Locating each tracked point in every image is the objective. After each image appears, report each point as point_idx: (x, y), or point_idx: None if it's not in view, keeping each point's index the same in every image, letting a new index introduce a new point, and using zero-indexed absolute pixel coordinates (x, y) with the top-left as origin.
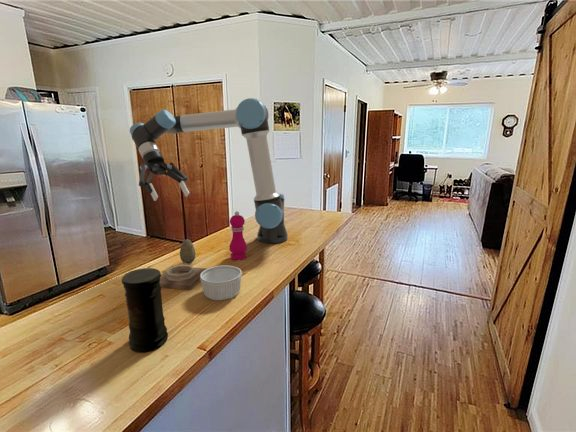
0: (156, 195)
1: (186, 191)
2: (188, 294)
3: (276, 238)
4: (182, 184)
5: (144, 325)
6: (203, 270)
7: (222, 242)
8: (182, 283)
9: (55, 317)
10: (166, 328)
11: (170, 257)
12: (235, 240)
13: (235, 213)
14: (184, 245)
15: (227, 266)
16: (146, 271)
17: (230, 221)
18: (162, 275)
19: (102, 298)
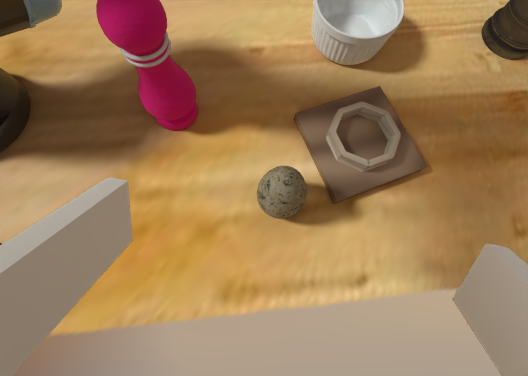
0: (512, 258)
1: (110, 206)
2: (389, 83)
3: (6, 72)
4: (4, 299)
5: None
6: (309, 113)
7: None
8: (383, 105)
9: None
10: (494, 13)
11: (276, 288)
12: (178, 69)
13: None
14: (301, 177)
15: (321, 13)
16: None
17: (159, 26)
18: (389, 174)
19: (520, 214)
